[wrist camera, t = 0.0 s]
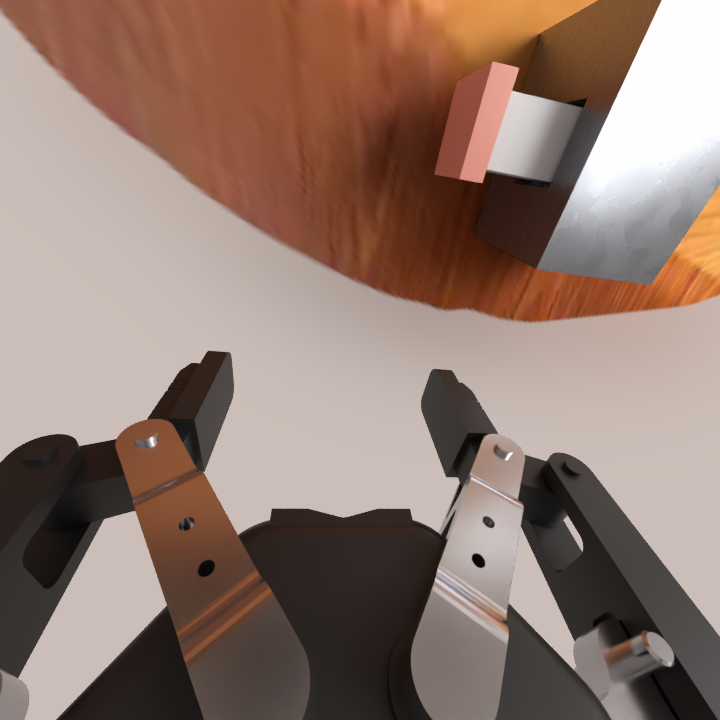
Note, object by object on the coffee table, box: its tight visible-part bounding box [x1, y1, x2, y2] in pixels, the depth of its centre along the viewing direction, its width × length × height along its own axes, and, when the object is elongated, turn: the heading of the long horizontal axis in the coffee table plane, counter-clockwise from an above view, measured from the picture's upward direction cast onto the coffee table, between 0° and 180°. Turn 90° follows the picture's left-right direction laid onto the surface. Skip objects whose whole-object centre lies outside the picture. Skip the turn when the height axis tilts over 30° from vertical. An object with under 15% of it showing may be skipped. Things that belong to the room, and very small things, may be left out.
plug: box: [434, 61, 583, 184], centre depth 27 cm, size 7×14×7 cm, turn 81°
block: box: [473, 0, 720, 285], centre depth 29 cm, size 18×12×14 cm, turn 171°
